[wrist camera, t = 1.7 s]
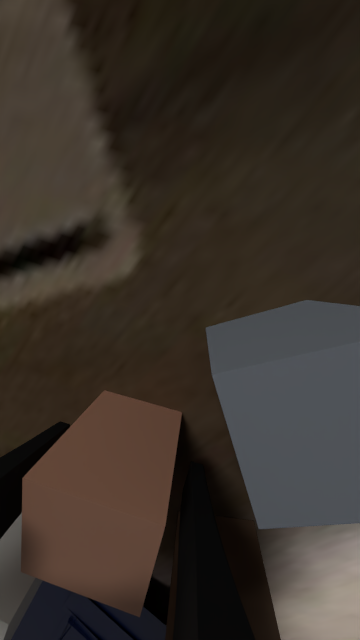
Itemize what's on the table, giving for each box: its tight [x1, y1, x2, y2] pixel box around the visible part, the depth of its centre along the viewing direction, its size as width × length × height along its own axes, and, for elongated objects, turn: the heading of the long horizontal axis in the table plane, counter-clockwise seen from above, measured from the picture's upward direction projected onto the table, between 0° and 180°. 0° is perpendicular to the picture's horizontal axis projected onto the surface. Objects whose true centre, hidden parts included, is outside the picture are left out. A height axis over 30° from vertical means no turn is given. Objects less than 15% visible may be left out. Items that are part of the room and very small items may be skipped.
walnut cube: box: [165, 511, 281, 640], centre depth 9 cm, size 5×5×5 cm
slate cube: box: [206, 300, 360, 529], centre depth 6 cm, size 5×5×5 cm
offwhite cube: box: [0, 513, 43, 640], centre depth 10 cm, size 5×5×5 cm
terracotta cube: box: [21, 390, 182, 617], centre depth 8 cm, size 5×5×5 cm
